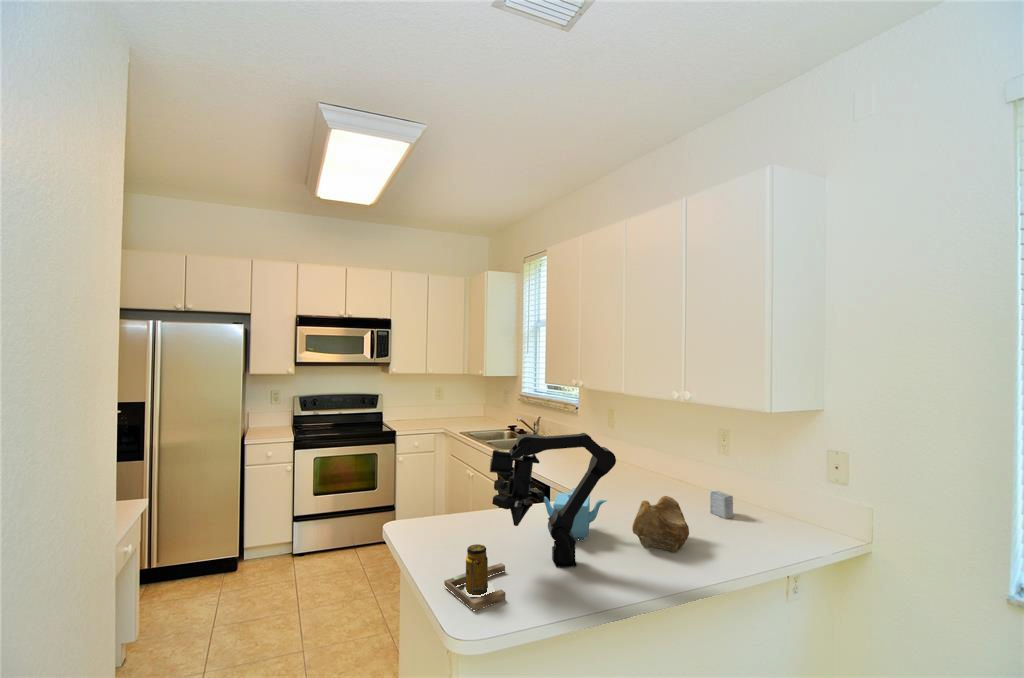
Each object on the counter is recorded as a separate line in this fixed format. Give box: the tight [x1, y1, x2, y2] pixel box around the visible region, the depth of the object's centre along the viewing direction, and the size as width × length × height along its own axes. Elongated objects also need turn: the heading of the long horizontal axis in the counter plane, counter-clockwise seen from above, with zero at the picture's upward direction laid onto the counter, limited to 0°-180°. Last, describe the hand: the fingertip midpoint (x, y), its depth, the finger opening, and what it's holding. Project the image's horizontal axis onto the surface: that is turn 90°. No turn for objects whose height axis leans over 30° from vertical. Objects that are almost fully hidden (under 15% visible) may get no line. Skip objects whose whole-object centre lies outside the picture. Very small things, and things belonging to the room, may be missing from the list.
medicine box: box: [709, 490, 734, 520], centre depth 202 cm, size 8×4×9 cm, turn 22°
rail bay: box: [444, 562, 506, 611], centre depth 141 cm, size 19×16×2 cm
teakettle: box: [543, 487, 608, 541], centre depth 182 cm, size 19×19×15 cm
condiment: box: [465, 543, 489, 595], centre depth 140 cm, size 7×8×12 cm
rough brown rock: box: [631, 495, 690, 554], centre depth 171 cm, size 23×17×15 cm
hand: (515, 525), depth 157 cm, fingers closed
